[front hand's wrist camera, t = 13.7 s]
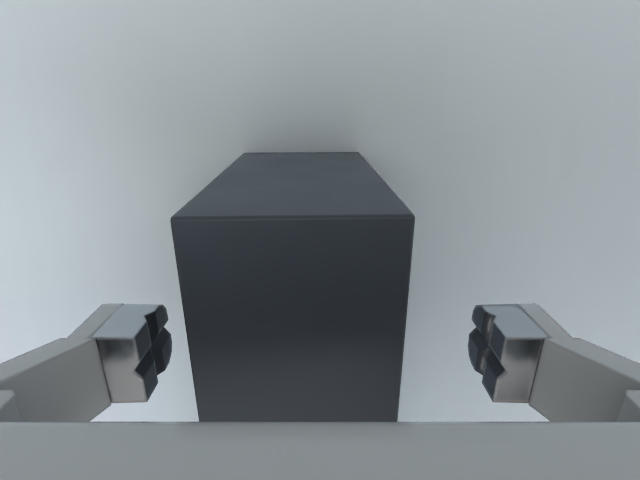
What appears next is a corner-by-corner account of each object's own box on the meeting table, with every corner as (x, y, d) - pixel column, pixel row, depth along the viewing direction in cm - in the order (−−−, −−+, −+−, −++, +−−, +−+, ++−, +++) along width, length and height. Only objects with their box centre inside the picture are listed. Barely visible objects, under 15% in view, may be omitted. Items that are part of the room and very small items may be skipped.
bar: (243, 152, 17) (168, 217, 8) (359, 151, 17) (416, 214, 8) (269, 519, 25) (246, 757, 16) (347, 516, 25) (369, 752, 16)
